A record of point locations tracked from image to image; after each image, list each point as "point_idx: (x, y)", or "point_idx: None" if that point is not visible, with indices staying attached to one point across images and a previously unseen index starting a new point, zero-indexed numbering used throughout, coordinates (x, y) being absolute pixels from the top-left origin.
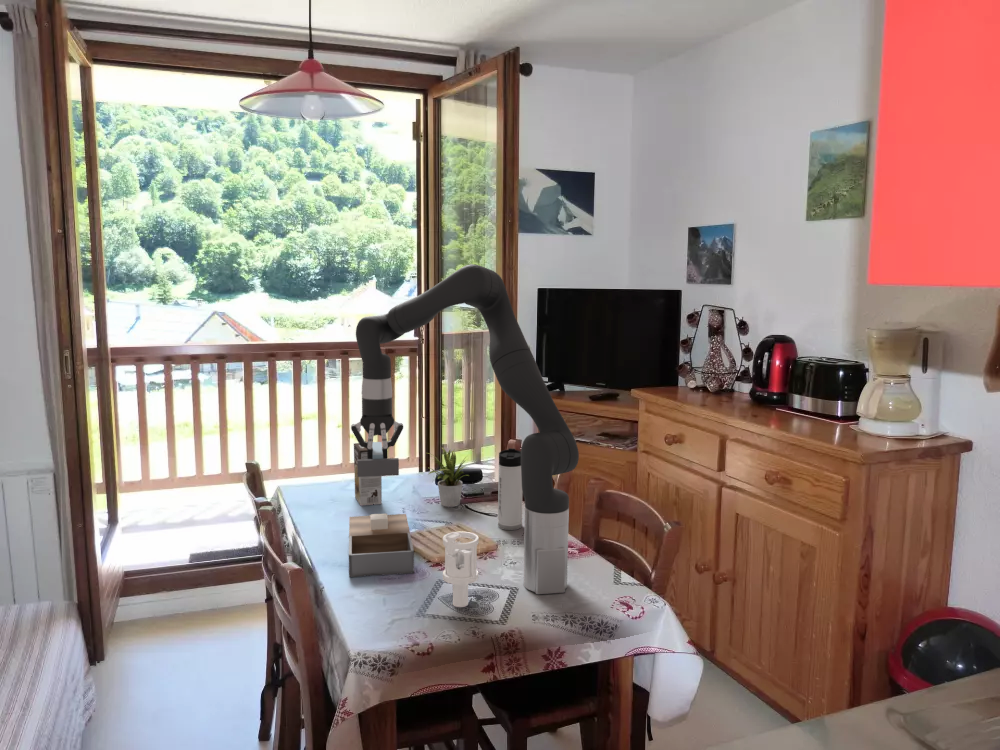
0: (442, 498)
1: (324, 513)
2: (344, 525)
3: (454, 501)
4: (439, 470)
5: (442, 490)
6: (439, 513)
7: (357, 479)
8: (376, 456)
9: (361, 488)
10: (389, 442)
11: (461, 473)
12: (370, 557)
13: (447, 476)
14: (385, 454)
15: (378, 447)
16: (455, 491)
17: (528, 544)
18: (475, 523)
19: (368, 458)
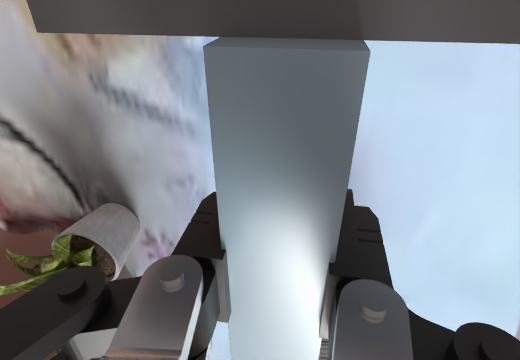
0: (124, 224)
1: (448, 234)
2: (415, 124)
3: (97, 209)
4: (59, 259)
5: (110, 236)
6: (135, 164)
7: None
8: (309, 41)
9: None
10: (105, 325)
11: (30, 269)
12: None
13: (56, 247)
14: (207, 226)
15: (261, 343)
16: (76, 224)
17: None
18: (24, 62)
19: (369, 222)
